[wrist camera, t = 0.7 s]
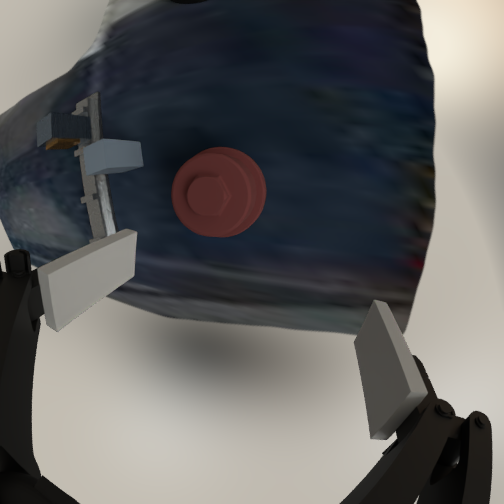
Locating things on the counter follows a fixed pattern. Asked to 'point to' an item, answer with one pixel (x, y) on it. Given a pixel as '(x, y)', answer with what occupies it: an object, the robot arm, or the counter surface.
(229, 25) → the counter surface
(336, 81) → the counter surface
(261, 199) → the mechanical component
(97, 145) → the pale blue-grey block
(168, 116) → the counter surface
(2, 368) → the robot arm
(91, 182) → the rail
